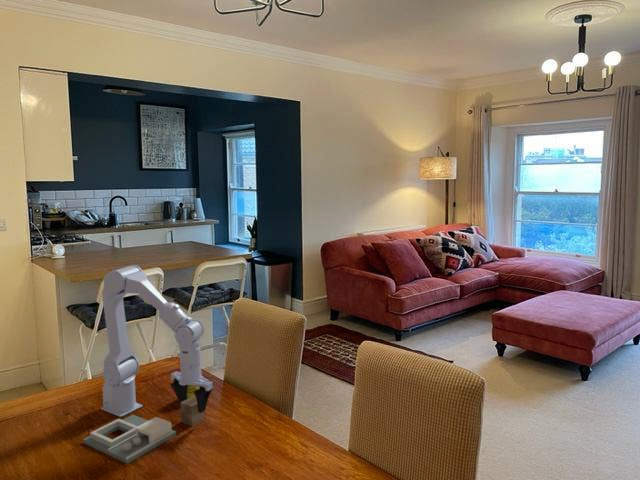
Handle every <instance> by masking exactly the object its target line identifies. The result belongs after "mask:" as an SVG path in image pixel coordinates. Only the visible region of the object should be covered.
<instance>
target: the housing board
mask: <svg viewBox="0 0 640 480" xmlns="http://www.w3.org/2000/svg"><path fill="white" fill-rule="evenodd" d="M147 421H149V420H147V419H145V418H143V417H140V416H137V415H135V414H131V415H130V416H127V417H125V418H124V419H121V418H117V419H115V420H113V421H112V422H109V423H106V424H105V425H103V426H100V427H99V428H97V429H95V430H93V431H91V432H90V433H89V436H86V437H85V438H83V439H82V443H83V444H85V445H87V446H89V447H91V448H93V449H95V450H98V451H99V452H101V453H103V454H106V455H107V456H110V457H112V458H114V459H116V460H118V461H121V462H122V463H125V464H127V465H128V464H130V463H132V462H134V461H135V460H137V459H139V458H140V457H141V456H143V455H145V454H146V453H149V452H151V451H152V450H153V449H154V450H155V448H157V447H158V446H161V445H162V444H163V443H165V442H167V441H169V440H170V439H172V438H174V437H175V436H177V431H176V430H173V429H172V431H171V432H169V433H167V434H166V435H164V436H162V437H161V438H159V439H157V440H155V441H154V442H152V443H149V436H148V435H143V436H141V437H136V430H135V428H136V427H138V426H140V425H142V424H143V423H145V422H147ZM119 430H120V431H121V432H124V433H122V434H121V435H119V436H117V437H115V438H113V439H112V438H110V437H107V436H109V435H110V434H112V433H114V432H116V431H119Z"/></svg>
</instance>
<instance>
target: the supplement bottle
mask: <svg viewBox="0 0 640 480" xmlns="http://www.w3.org/2000/svg"><path fill="white" fill-rule="evenodd" d="M197 389H199V387H197V386H194V385H188V388H187V399H189V398H190V397H195V398H196V396H195V394H194V391H195V390H197Z"/></svg>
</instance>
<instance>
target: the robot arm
mask: <svg viewBox="0 0 640 480" xmlns="http://www.w3.org/2000/svg"><path fill="white" fill-rule="evenodd" d="M102 279H103V280H102V281H103V287H102V288H103V289H102V293H101V294H102V295H101V296H102V297H101V298H102V306H103V311H104V320H105V327H106V334H107V335H106V336H107V341H108V342H107V343H108V350H109V351H108V354H107V355H106V357H105V358H104V360H103V369H102V378H103V380H104V383H103V386H102V400H103V401H102V402H103V406H102V407H100V409H101V410H102V411H105V412H107V413H109V414H112V415H115V416H117V417H118V418H122V417H124V416H126V415H129V414H130V413H132V412H134V411H136V410H138V409H140V408H142V407H143V404H141V403H138V402H137V399H136V398H137V397H136V396H137V395H136V376H137V373H138V372H139V371H140V362H139V360H138V358H137V355H136V351H135V350H133V349H131V348H130V344H129V337H128V329H127V328H128V327H127V321H126V312H125V304H124V297H125V296H126V295H127V294H138V295H139V296H140V297H141V298H143V299H144V300H145V301H146V302H147V303H148V304H150V305H151V306H152V307H153V308H155V309H156V310H157V311H158V318H159V319H160V320H161V321H162V323H164V324H165V325H166V326H168V328H169V329H170V330H171V331H172V332H174V333H175V334H174V338H175V341H176V342H177V344H178V349H179V358H180V359H179V360H180V361H179V362H180V371H174V372H172V373H171V374H170V380H171V381H173V382H171V383H170V387H171V389H172V391H174V394H175V396H176V399H177V401H178V405H179V406H180V407H181V402H183V401H185V400H187V388H188V385H194V386H197V387H199V389H197V390H195V391H194V394H195V396H196V399H197V405H198V411H199V413H202V412H203V411H206V409H207V403H208V400H209V399H210V398H209V397H210V395H211V393H212V391H213V390H214V387H213V381H210V380H208V379H207V378H205V377H204V375H202V357H201V356H202V354H201V353H202V351H201V349H202V348H201V338H202V336H203V334H204V331H205V330H204V325H203V323H202V322H201V321H200V320H199V319H196V318H192V317H190V316H189V315H187V314H186V313H185V312H184V311H183V310H182V308H181V306H180V305H179V304H178V303H175V302H168V301H167V300H166V298H164V296H163V295H162V294H161V293H160V292H159V291H158V290H157V288H156V287H155V286H154V285H153V284H152V282H150V281H149V279H148V276H147V272H145V271H143V269H142V268H141V267H140V266H138V265H136V264H131V265H128V266H125V267H122V268H118V269H113V270H110V271H109V272H107V274H106V275H105V276H104V277H102Z"/></svg>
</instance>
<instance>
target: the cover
mask: <svg viewBox="0 0 640 480" xmlns="http://www.w3.org/2000/svg"><path fill="white" fill-rule="evenodd" d="M135 430H136V437H141V436H143V435H148V436H149V443H152V442H154V441H155V440H157V439H159V438H161V437H162V436H164V435H166V434H167V433H169V432H171V431H172V430H173V428H172V422H171V421H169V420H166V419H163V418H160V417H158V416H155V417H153V418H151V419H149V420H148V421H147V422H145V423H143V424H142V425H140V426H138V427H136V428H135Z"/></svg>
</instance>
